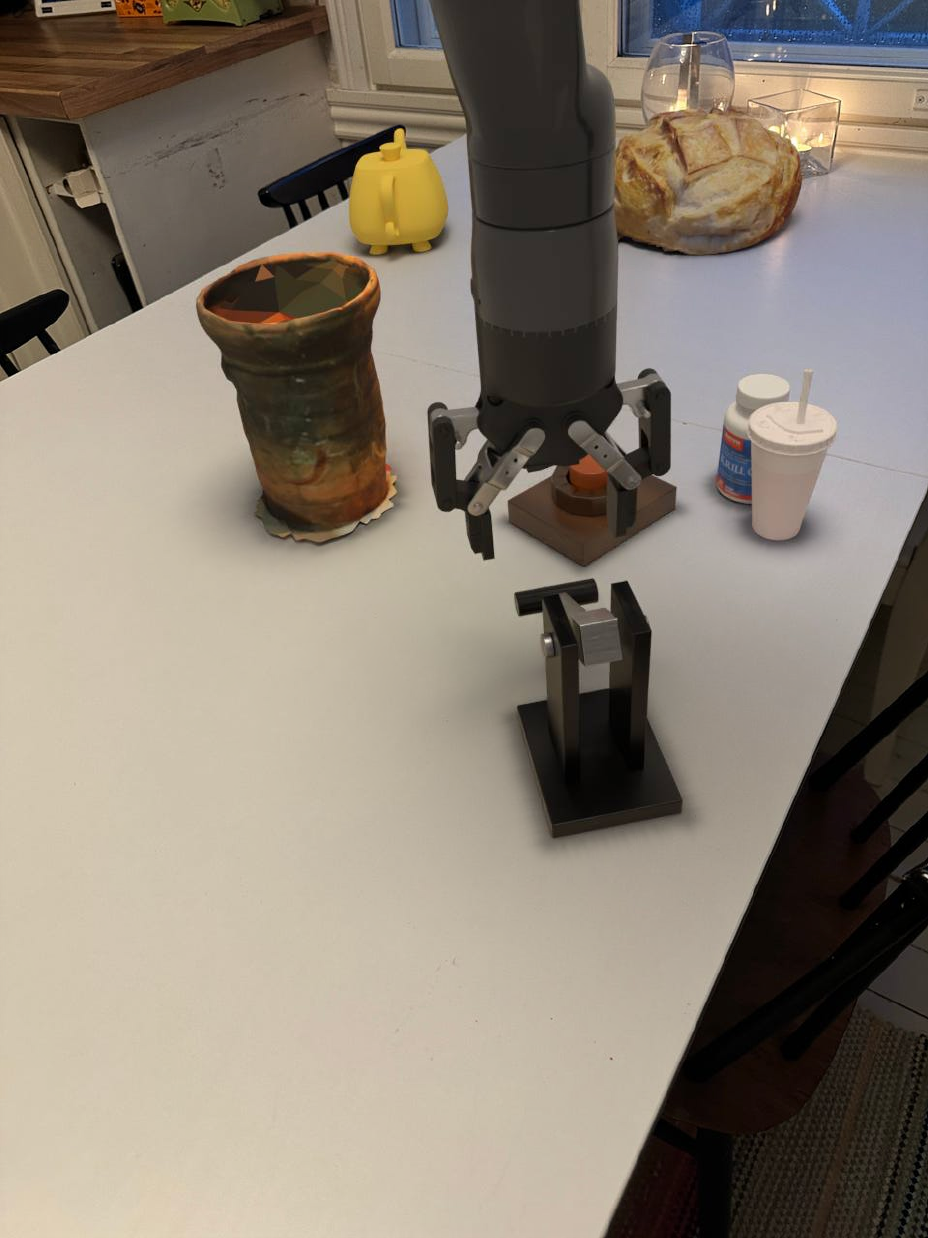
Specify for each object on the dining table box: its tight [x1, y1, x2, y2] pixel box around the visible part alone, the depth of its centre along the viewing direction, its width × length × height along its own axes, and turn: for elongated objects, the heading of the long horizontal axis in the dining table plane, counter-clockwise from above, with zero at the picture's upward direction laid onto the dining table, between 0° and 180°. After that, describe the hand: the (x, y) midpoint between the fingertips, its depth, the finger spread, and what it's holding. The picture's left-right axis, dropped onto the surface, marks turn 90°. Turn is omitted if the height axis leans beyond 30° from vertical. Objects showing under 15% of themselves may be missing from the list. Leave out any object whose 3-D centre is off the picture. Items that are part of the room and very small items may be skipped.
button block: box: [507, 466, 678, 567], centre depth 78 cm, size 11×9×4 cm
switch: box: [513, 577, 623, 668], centre depth 57 cm, size 13×6×2 cm, turn 10°
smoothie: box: [747, 368, 838, 541], centre depth 71 cm, size 6×6×14 cm
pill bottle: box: [716, 373, 791, 505], centre depth 77 cm, size 6×5×10 cm
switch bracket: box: [516, 580, 684, 838], centre depth 55 cm, size 10×8×13 cm
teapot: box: [348, 128, 449, 256], centre depth 129 cm, size 14×20×13 cm
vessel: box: [195, 252, 398, 543], centre depth 78 cm, size 14×14×20 cm
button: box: [570, 454, 609, 491], centre depth 76 cm, size 4×4×2 cm
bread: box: [614, 105, 803, 256], centre depth 122 cm, size 25×27×15 cm
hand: (552, 541), depth 59 cm, fingers open, 8 cm apart
